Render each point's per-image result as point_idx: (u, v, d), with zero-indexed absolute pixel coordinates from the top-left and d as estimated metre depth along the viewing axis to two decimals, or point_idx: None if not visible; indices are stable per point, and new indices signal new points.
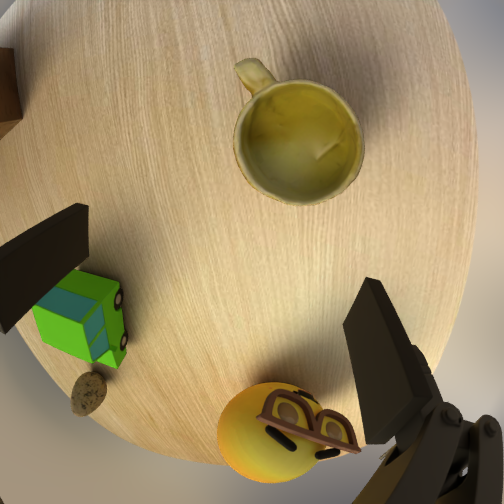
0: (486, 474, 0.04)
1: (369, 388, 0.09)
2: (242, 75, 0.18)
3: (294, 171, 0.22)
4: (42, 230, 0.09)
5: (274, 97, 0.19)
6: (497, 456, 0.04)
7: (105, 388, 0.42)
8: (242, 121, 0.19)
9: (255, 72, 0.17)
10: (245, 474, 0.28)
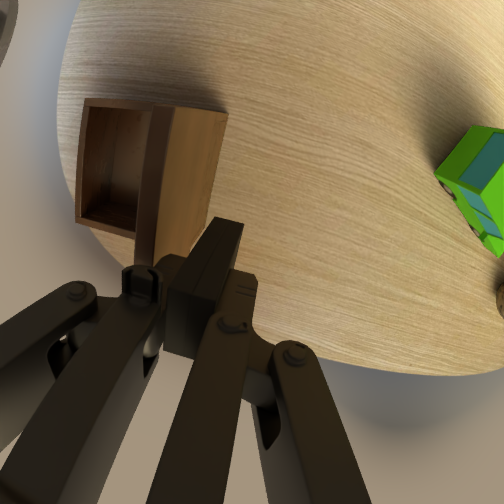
0: (305, 417, 0.05)
1: None
2: None
3: None
4: (212, 246, 0.11)
5: None
6: (316, 389, 0.06)
7: None
8: None
9: None
10: None
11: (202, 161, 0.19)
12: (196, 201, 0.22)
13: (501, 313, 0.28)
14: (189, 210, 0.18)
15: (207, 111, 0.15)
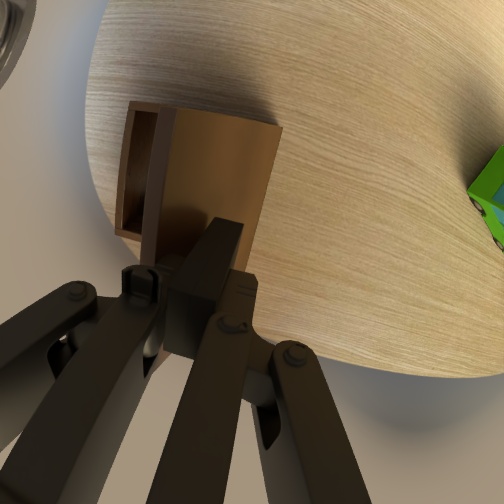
0: (305, 417, 0.05)
1: None
2: None
3: None
4: (212, 246, 0.11)
5: None
6: (316, 389, 0.06)
7: None
8: None
9: None
10: None
11: (260, 176, 0.19)
12: (254, 217, 0.21)
13: None
14: None
15: (258, 122, 0.15)
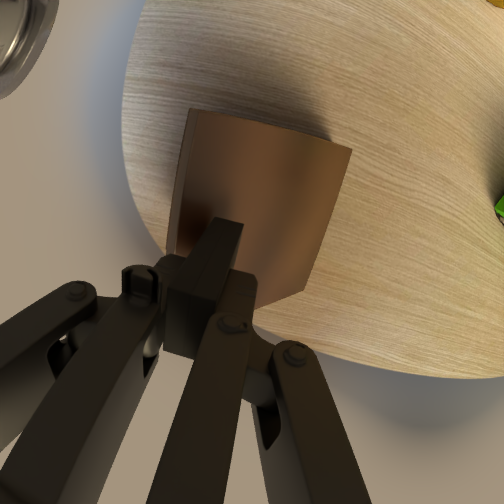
0: (305, 417, 0.05)
1: None
2: None
3: None
4: (212, 246, 0.11)
5: None
6: (317, 389, 0.06)
7: None
8: None
9: None
10: None
11: (320, 192, 0.20)
12: (315, 233, 0.22)
13: None
14: (289, 232, 0.19)
15: (311, 136, 0.16)
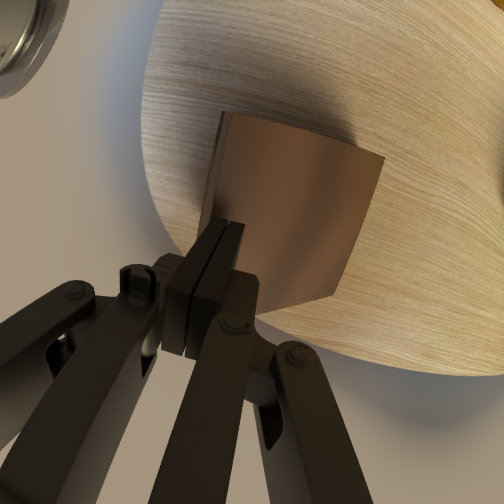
0: (307, 417, 0.05)
1: None
2: None
3: None
4: (211, 246, 0.11)
5: None
6: (319, 389, 0.06)
7: None
8: None
9: None
10: None
11: (352, 197, 0.20)
12: (346, 238, 0.22)
13: None
14: (320, 235, 0.20)
15: (342, 142, 0.16)
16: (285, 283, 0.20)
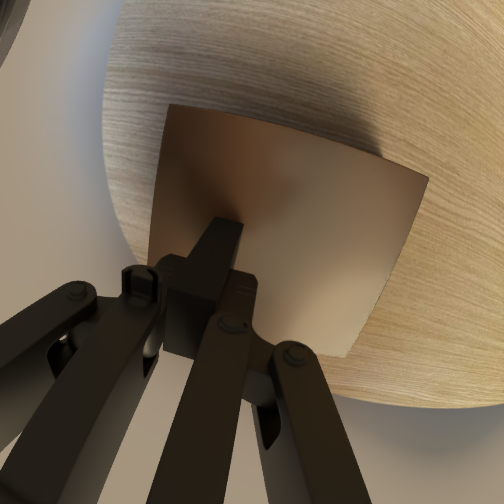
0: (305, 417, 0.05)
1: None
2: None
3: None
4: (212, 246, 0.11)
5: None
6: (317, 389, 0.06)
7: None
8: None
9: None
10: None
11: (365, 226, 0.14)
12: (360, 284, 0.15)
13: None
14: (308, 265, 0.15)
15: (333, 141, 0.12)
16: (257, 313, 0.17)
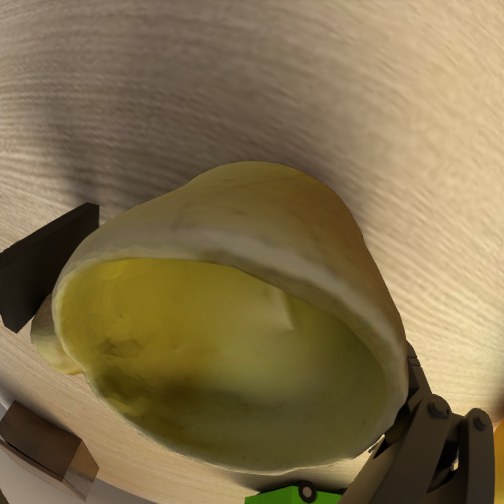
0: (477, 469, 0.04)
1: None
2: (52, 367, 0.08)
3: (290, 374, 0.09)
4: (54, 229, 0.09)
5: (111, 332, 0.08)
6: (488, 450, 0.04)
7: None
8: (133, 422, 0.08)
9: (46, 353, 0.07)
10: None
11: (53, 480, 0.21)
12: (66, 490, 0.23)
13: None
14: (47, 479, 0.22)
15: (27, 462, 0.20)
16: (45, 480, 0.24)
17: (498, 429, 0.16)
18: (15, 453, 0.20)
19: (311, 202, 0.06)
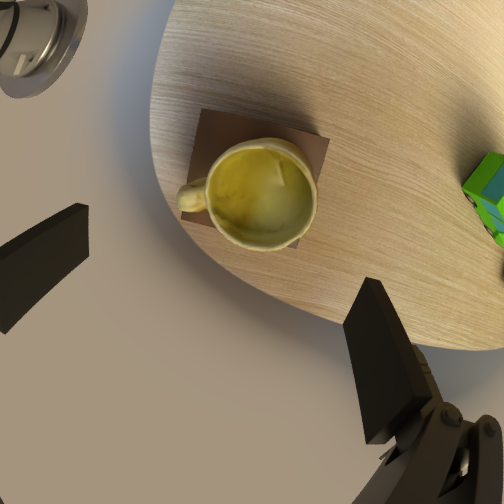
0: (486, 474, 0.04)
1: (369, 388, 0.09)
2: (187, 209, 0.24)
3: (285, 207, 0.25)
4: (42, 230, 0.09)
5: (218, 192, 0.25)
6: (497, 456, 0.04)
7: None
8: (222, 229, 0.25)
9: (189, 199, 0.24)
10: None
11: None
12: None
13: None
14: None
15: (276, 124, 0.27)
16: None
17: None
18: (255, 119, 0.27)
19: (287, 144, 0.23)
